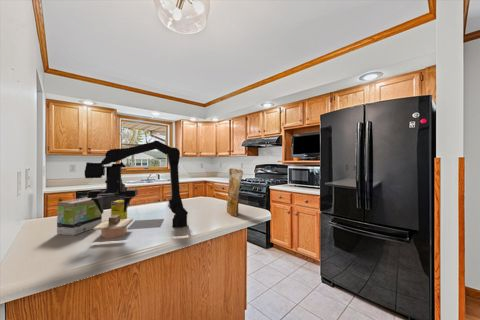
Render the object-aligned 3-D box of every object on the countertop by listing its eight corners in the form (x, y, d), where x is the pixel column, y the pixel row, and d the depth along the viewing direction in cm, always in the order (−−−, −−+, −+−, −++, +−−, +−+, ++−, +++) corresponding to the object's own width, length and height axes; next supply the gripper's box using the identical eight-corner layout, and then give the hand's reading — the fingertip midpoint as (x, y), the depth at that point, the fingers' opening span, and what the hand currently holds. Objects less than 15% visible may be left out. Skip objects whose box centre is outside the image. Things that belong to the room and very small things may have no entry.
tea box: (74, 236, 95) (74, 202, 95) (56, 234, 97) (56, 202, 97) (102, 225, 110) (102, 197, 110) (86, 224, 112) (86, 196, 112)
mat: (164, 220, 119) (164, 218, 119) (160, 229, 104) (160, 227, 104) (135, 222, 116) (135, 220, 116) (126, 231, 101) (126, 229, 101)
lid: (132, 220, 102) (132, 212, 102) (125, 228, 91) (125, 219, 91) (104, 221, 100) (104, 213, 100) (93, 230, 88) (93, 221, 88)
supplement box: (121, 222, 116) (121, 202, 116) (110, 222, 116) (110, 202, 116) (127, 219, 122) (127, 199, 122) (117, 219, 122) (117, 199, 122)
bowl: (128, 232, 100) (128, 221, 100) (122, 239, 92) (122, 227, 92) (107, 233, 98) (107, 222, 98) (98, 240, 90) (98, 228, 90)
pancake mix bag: (233, 209, 145) (233, 168, 145) (243, 216, 127) (243, 169, 127) (224, 210, 143) (224, 168, 143) (233, 217, 125) (233, 169, 125)
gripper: (140, 175, 105) (140, 207, 105) (98, 176, 101) (98, 209, 101) (134, 177, 94) (134, 213, 94) (86, 178, 90) (86, 215, 90)
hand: (113, 212), depth 95 cm, fingers open, 9 cm apart
